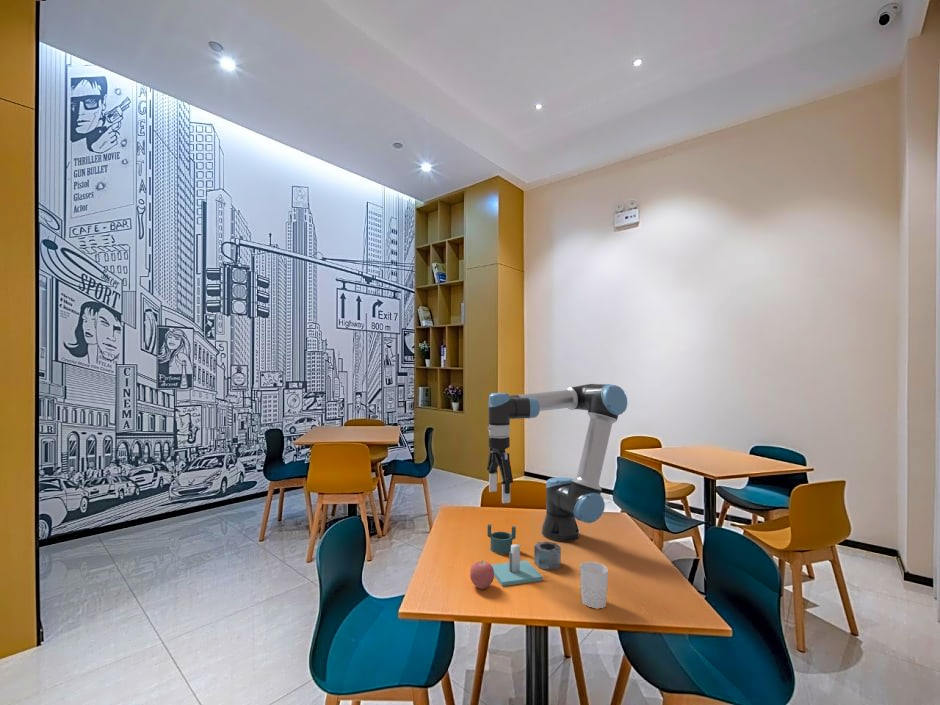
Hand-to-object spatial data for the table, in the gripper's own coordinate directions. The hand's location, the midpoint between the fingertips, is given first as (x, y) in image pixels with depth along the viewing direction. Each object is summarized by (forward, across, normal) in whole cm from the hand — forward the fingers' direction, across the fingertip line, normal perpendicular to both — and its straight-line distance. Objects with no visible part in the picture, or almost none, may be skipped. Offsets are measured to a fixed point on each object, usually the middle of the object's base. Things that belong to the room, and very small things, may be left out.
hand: (499, 496), depth 145 cm
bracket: (+23, -11, +5) cm, 26 cm away
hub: (+23, +5, +16) cm, 29 cm away
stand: (+23, +9, +2) cm, 25 cm away
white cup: (+23, +31, +18) cm, 43 cm away
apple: (+23, +14, -11) cm, 29 cm away
